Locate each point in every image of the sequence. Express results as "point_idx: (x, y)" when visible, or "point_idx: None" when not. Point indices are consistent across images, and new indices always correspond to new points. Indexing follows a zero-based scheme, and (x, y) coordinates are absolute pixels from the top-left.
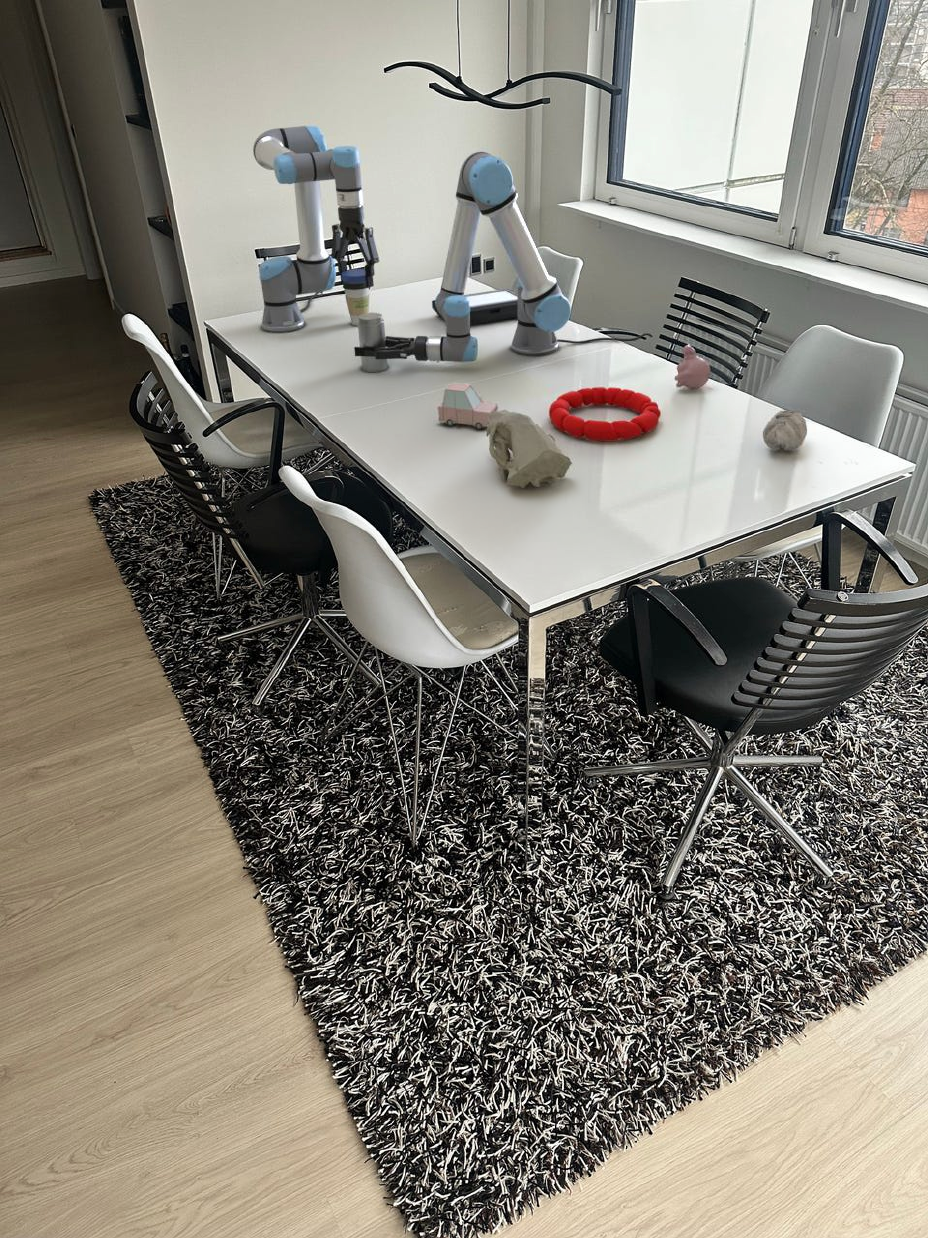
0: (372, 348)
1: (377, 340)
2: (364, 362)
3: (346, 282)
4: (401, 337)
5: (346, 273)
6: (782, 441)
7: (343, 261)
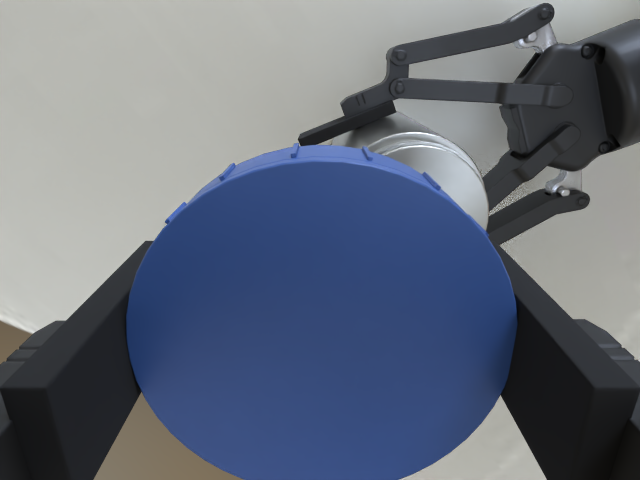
0: None
1: None
2: None
3: None
4: (479, 32)
5: (233, 423)
6: None
7: (62, 453)
